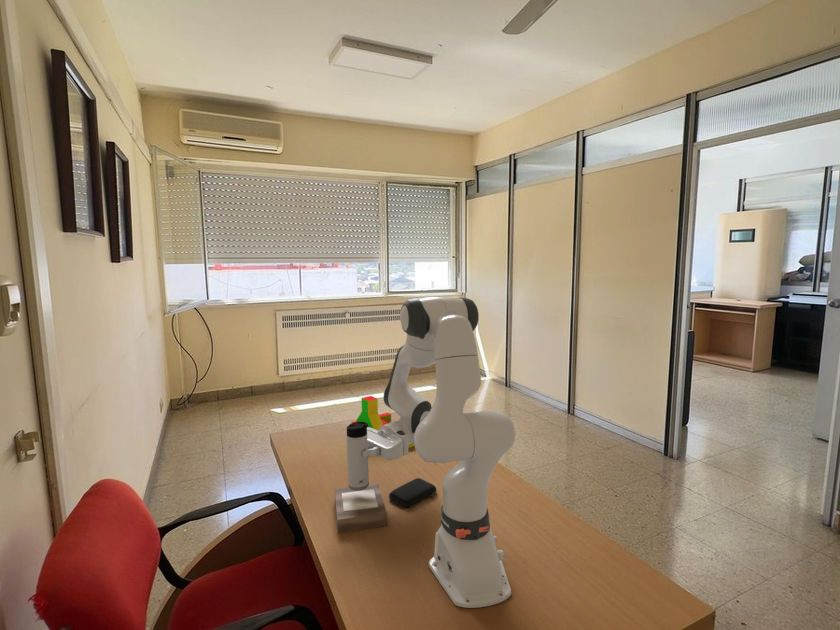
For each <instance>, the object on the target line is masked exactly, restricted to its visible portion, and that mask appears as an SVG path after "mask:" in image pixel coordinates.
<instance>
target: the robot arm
mask: <svg viewBox="0 0 840 630" xmlns="http://www.w3.org/2000/svg"><path fill="white" fill-rule="evenodd" d="M479 315H480V314H479V309H478V306H477V305H476V303H475V301H474V300H473V299H470V298H468V297H461V296H460V297H452V296H451V297H447V296H443V297H442V296H427V297H421V298H419V297H414V298H411V299H410V298H409V299H406V300H405V301H404V303H403V304H402V306H401V309H400V316H399V318H400V320H399V321H400V324H401V327H402V328H401V329H402V330H403V332H405V333H406V341H405V344H403V345H401V347H399V349H398V350H397V353H396V356H395V359H394V363H393V366H392V370H391V373H390V377H389V380H388V383H387V385H386V387H385V389H384V391H383V403H384V405H385V406H387V407H388V408H390V410H393V411H394V412H395V413H396V415H397V414H398V416H399V417H400V418H399V419H398V420H395V421H391V423H388V424H385V425H382V426H381V427H380V429H379V431H378V430H375V429H373V428H370V427H367V440H368V449H364V450H362V451H361V453H362V454H361V455H362V456H364V457H367V456H368V457H373V456H379V457H380V458H382V459H384V460H387V461H390V460H391V461H393V460H397V459H398V458H401V457H402V456H408V454H409V448H408V444H413V443H414V445H415V446H414V447H415V448H414V449H415V451H416V452H417V453H416V454H418V456H419V457H420V458H421V459H422V460H423V461H424V462H427V463H432V464H433V463H435V464H448V463H454V462H458V461H459V462H458V463H457V464H456V465H455V466H454V467H453V468H451V469H450V470H449V471H448V472H447V473H446V475H445V476H444V479H443V481H442V505H441V510H440V523H441V525H440V526H439V529H438V530H436V533H435V536H434V537H435V538H434V541H435V542H434V555H433V557H432V558H430V559H429V561H428V568H429V569H430V571H431V572H432V574H433V575H434V576H435V578H436V580H438V582H439V584H440V585H441V587H442V588H443V589H444V592H446V595H447V596H448V597H449V598H450V600H451V601H452V603H453V604H454V605H455V606H457V607H460V608H466V609H467V608H468V609H473V608H474V609H477V608H483V607H490V606H493V605H496V604H500V603H502V602H504V601H506V600H507V599H509V598H510V596H511V595H512V588H511V585H510V582H509V579H508V576H507V572H506V570H505V567H504V564H503V561H504V560H505V554H504V551H503V550H502V549H498V548H497V547H496V543H497V542H498V541H497V540H498V538H497V535H493V531H492V525H491V523H490V522H491V521H490V514H489V509H488V506H487V505H488V494H489V493H488V490H489V484H490V480H491V477H492V473H493V472H494V470H495V468H496V466H497V464H498V463H499V461H500V460H501V459H502V458H503V456H504V455H505V454H506V453H507V452H508V451H510V450H511V449H512V448H513V446H514V444H515V441H516V440H515V439H516V429H515V425H514V423H513V420H512V419H511V417H509V415H507V414H506V413H505V412H502V411H492V410H482V411H475V412H474V411H473V412H466V413H464V408H465V404H466V402H467V401H468V400H469V399H470V398H471V397H473V396H475V394H477V393H478V391H479V390H480V388H481V385H482V376H481V368H480V360H479V353H478V346H477V341H476V337H475V333H474V331H475V330H476V328H477V327H478V324H479V319H480V318H479ZM434 364H435V377H436V379H435V380H436V392H435V397H434V402H433V404H432V403H431V402H429V401H428V399H427V398H425V397H424V396H423V395H422V394H420V393H418V392H417V391H416V390H415V389H413V388H412V387H411V385H410V384H409V383H408V377H409V374H410V370H411V367H412V368H417V369H423V368H427V367H430V366H432V365H434Z"/></svg>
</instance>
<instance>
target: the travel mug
mask: <svg viewBox="0 0 840 630" xmlns="http://www.w3.org/2000/svg"><path fill="white" fill-rule="evenodd" d="M367 426H368V423H366V422H355V423H352V424H351V423H349V424H348V425H347V426H346V454H347V455H346V457H347V460H346V461H347V481H348V482H347V483H348V486H347V487H349V488H350V489H351V490H354V491H360V490H364V489H366V488H367V487H368V486H369V485H370V478H369V476H370V475H369V456H367V457H364V456H362V455H361V454H362V453H361V451H362V450H364V449H368V440H367Z"/></svg>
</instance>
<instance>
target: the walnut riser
mask: <svg viewBox="0 0 840 630" xmlns="http://www.w3.org/2000/svg"><path fill="white" fill-rule="evenodd" d="M334 502H335V513H336V524H337V525H336V527H337V533H338V534H339V533H345V532H353V531H358V530H366V529H367V530H368V529H372V528H373V529H374V528H380V527H386V526H388V521H387V520H388V519H387V517H388V516H387V510H386V509H387V508H386V506H385V503H384V499H383V495H382V492H381V488H380V485H379V483H372V484H370V483H369V486H368V487H367V488H366V489H364V490H360V491H354V490H351V489H350V488H349V487H348V486H347V487H340V488H339V487H338V488H335V489H334Z"/></svg>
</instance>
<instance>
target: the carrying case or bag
mask: <svg viewBox="0 0 840 630" xmlns="http://www.w3.org/2000/svg"><path fill="white" fill-rule="evenodd" d="M436 493H437V487H436V486H435V485H434V484H432V483H431V482H429V481H427V480H424V479H422V478H420V477H417V478H415V479H412V480H410V481H408V482H406V483H404V484H402V485H400V486H399V487H397V488H395V489H393V490H392V491H390V493H389V494H388V498H389V499H390V500H391V501H392V502H394V503H396V504H398V505H399V506H401V507H403V508H404V509H409V508H411V507H413V506H415V505H417V504H419V503H420V502H422V501H424V500H425V499H427V498H429V497H431V498H433V497H434V496H435V495H436Z"/></svg>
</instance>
